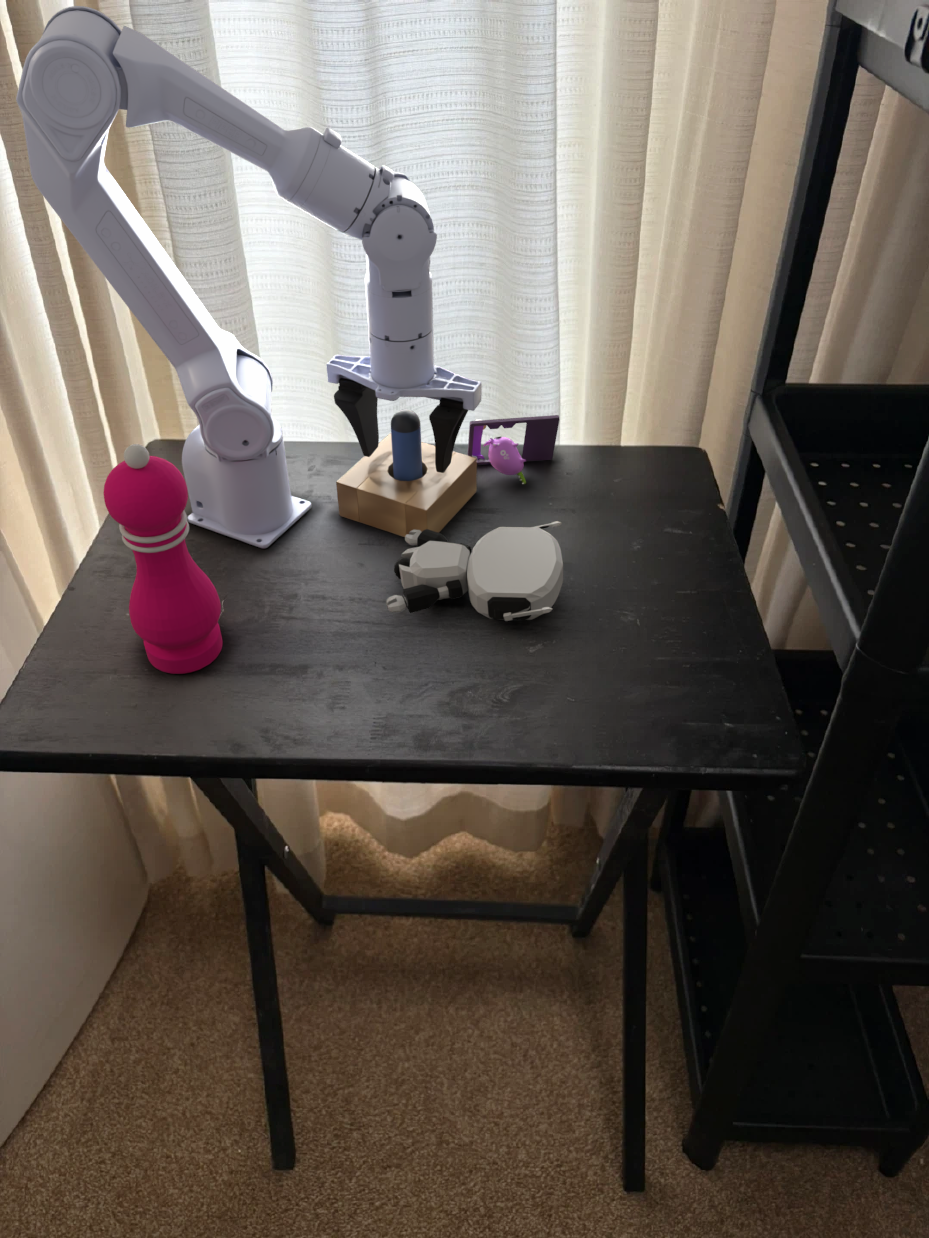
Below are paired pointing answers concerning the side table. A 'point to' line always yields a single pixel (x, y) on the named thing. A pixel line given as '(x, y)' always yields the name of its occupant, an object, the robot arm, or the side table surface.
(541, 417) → the purple toy with frame
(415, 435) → the blue domed cylinder
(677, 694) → the side table surface
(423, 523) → the holder
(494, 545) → the robot toy
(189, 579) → the pepper mill
